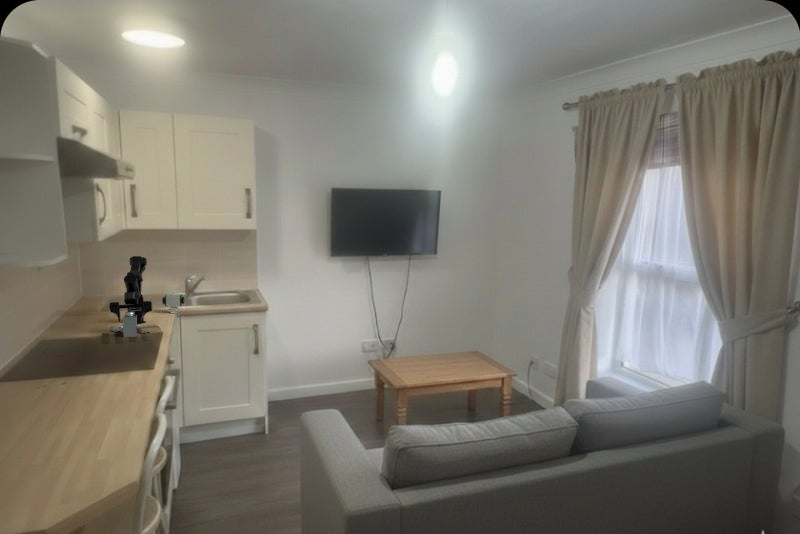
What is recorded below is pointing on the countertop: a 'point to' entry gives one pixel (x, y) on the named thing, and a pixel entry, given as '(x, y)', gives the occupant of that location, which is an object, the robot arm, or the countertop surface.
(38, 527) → the countertop surface
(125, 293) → the robot arm
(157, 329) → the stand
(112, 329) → the bolt
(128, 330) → the housing
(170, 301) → the pneumatic valve
